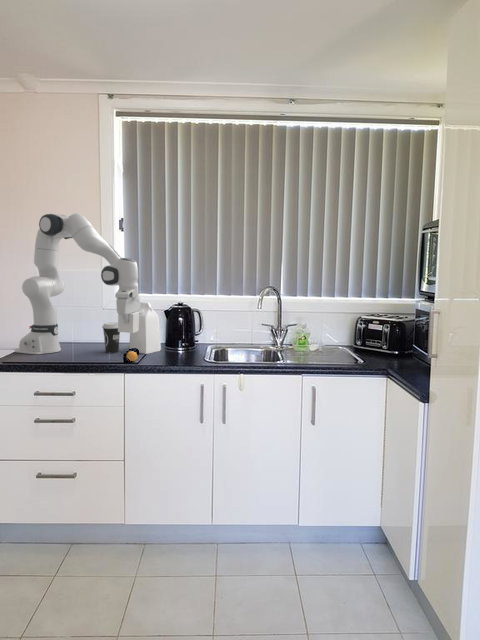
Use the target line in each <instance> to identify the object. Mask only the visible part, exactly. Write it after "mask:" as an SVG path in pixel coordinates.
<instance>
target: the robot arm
mask: <svg viewBox="0 0 480 640" xmlns="http://www.w3.org/2000/svg"><path fill="white" fill-rule="evenodd" d="M38 225H39V226H38V227H39V229H38V230H37V234H36V239H35V244H34V253H33V254H34V255H33V257H34V258H33V263H34V266H36V267H37V269H38V274H39V275H38V276H32V277H29V278H26V279H25V280H24V281H23V282H22V285H21V290H22V293H23V294H24V296H26V297H27V299H28V300H29V302H30V304H31V308H32V312H33V313H32V314H33V324H31V325H30V326H28V327H29V328H28V329H30V332H28V333H27V334H26V335H25V336H23V337H21V339H20V340H19V345H18V348H15V349H14V353H19V354H20V353H21V354H30V355H42V354H52V353H58V352H61V351H62V348H61V345H60V341H59V335H58V334H59V324H58V319H57V318H58V317H57V308H56V307H55V306H54V305H53V303H52V301H51V297H56V296H58V295H61V294H63V292H64V291H65V283H64V282H65V281H63V279H62V278H61V275H60V271H59V266H58V265H59V264H58V263H59V249H60V248H59V247H60V245H59V244H60V241H61V240H62V239H64V240H69V239H73V240H74V242H75V243H76V244H77V246H78V247H79V248H80V249H81V250H83V251H85V252H88V253H92V254H95V255H97V256H101V257H102V258H103V259H105V260H106V261H107V262H108V263H109V265H105V266H104V267H103V268H102V270H101V273H100V278H101V280H102V282H103V284H105V285H107V286H110V287H111V286H118V290H117V291H116V292H115V296H114V297H115V299H116V312H117V315H118V314H119V315H122V317H123V320H124V324H127V323H129V322H128V318H127V316H128V314H129V313H132V312H136V311H139V310H140V302H141V300H140V299H141V298H140V296H139V292H140V291H139V283H138V280H139V269H138V264H137V261H136V260H135V259H133V258H127V257H122V256H121V255H119V253H118V252H117V250H115V248H113V247H112V245H111V244H109V242H108V241H106V240H105V239H104V238H103V237H102V236H101V235H100V233H98V231H97V230H96V228H95V227H94V226H93V225H92V223H90V221H89V220H88V219H87V218H86V217H85V216H84V215H83V214H81V213H73V214H70V215H65V214H54V213H47V214H43V215H42V216H41V217H40V219H39V223H38Z"/></svg>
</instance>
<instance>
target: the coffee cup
mask: <svg viewBox="0 0 480 640" xmlns="http://www.w3.org/2000/svg"><path fill="white" fill-rule="evenodd" d="M101 327H102V330H103V331H102V332H103V337H104V338H103V339H104V349H105V353H106V354H107V353H110V354H114V353H118V352H119V351H120V349H119V347H120V337H121V335H120V334H121V332H118V322H115V321H114V322H113V321H111V322H103V325H102V326H101Z"/></svg>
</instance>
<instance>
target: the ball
mask: <svg viewBox="0 0 480 640" xmlns="http://www.w3.org/2000/svg"><path fill="white" fill-rule="evenodd" d="M127 358H128V359H129V360H130V361H129V360H128V359H127ZM126 359H127V360H128V361H129V362H131V361H133V362H136V360H137V359H138V354H137V352H134V351H128V352H127V353H126Z"/></svg>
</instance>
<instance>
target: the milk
mask: <svg viewBox="0 0 480 640" xmlns="http://www.w3.org/2000/svg"><path fill="white" fill-rule="evenodd" d="M136 312H138V313H139V331H137V332H134V333H129V346H128V348H129V349H131V348H137V349H138V350H139V354H145V355H148V354H152V353H156V352H160V350H161V351H162V345H161V344H162V343H161V342H162V341H161V327H160V317H159V314H158V313H157V312H156V311H155V310H154V309H153V308H152V305H151V303H150V302H147V301H145V302H144V301H140V310H139V311H136ZM129 349H128V350H129Z"/></svg>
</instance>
